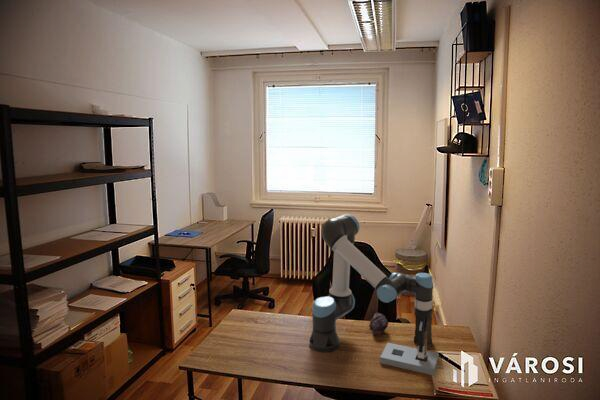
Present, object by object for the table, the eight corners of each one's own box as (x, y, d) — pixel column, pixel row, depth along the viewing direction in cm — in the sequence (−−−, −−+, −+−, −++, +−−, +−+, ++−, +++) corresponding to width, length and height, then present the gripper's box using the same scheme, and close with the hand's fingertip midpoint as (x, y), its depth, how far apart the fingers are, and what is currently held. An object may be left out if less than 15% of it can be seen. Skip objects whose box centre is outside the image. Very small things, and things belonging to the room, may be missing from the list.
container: (433, 348, 203) (434, 314, 200) (414, 346, 205) (415, 312, 202) (431, 338, 212) (432, 306, 209) (413, 337, 214) (414, 305, 211)
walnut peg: (416, 361, 189) (417, 333, 187) (418, 356, 193) (418, 329, 190) (425, 363, 188) (426, 335, 185) (427, 358, 191) (428, 330, 189)
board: (380, 362, 192) (380, 357, 192) (387, 348, 204) (387, 342, 204) (433, 375, 182) (434, 369, 181) (438, 359, 194) (438, 353, 194)
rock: (369, 337, 217) (389, 337, 216) (369, 324, 214) (389, 324, 213) (368, 323, 228) (387, 324, 227) (368, 310, 225) (387, 310, 224)
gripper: (428, 317, 176) (427, 366, 181) (434, 301, 192) (433, 347, 196) (411, 314, 180) (409, 363, 184) (418, 298, 195) (416, 344, 199)
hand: (421, 355), depth 190 cm, fingers closed on walnut peg, 4 cm apart
